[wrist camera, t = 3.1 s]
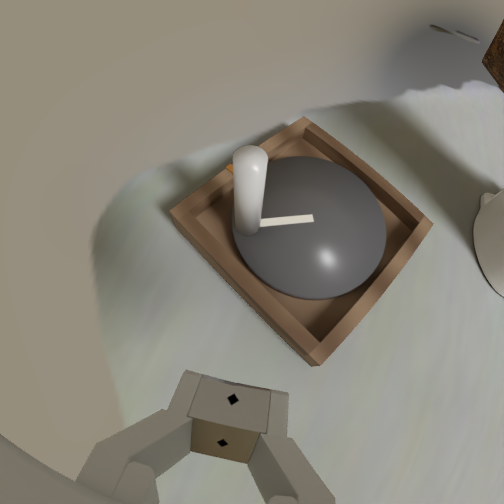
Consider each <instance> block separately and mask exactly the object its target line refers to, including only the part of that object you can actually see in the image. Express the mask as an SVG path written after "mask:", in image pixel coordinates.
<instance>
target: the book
mask: <svg viewBox="0 0 504 504" xmlns="http://www.w3.org/2000/svg"><path fill="white" fill-rule="evenodd" d="M482 63H483V65H484V66H485V67H486V69H487V70H488V71H489V73H490V74H491V75H492V77H493V78H494V79H495V81H496V82H497V84H498V85H499V86H500V88H501V89H502V91H503V92H504V20H503V22H502V24H501V26H500V28H499V30H498V32H497V34H496V35H495V37H494V39H493V41H492V43H491V45H490V47H489V48H488V50H487V52H486V54H485V56H484V58H483V60H482Z"/></svg>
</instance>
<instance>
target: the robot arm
mask: <svg viewBox="0 0 504 504" xmlns="http://www.w3.org/2000/svg"><path fill="white" fill-rule="evenodd" d="M473 236H474V245H475V250H476V254H477V257H478V260H479V263H480V266H481V268H482V270H483V272H484V274H485V276H486V278H487V279H488V281H489V283H490V284H491V285H492V287H493V288H494V289H495V290H496V291H497V292H498V293H499V294H500V295H501V296H503V297H504V189H502V190H501V191H500V192H499V193H497V194H496V195H495V194H491V193H485V194H483V195H482V196H481V208H480V211H479V213H478V215H477V217H476V219H475V223H474V229H473ZM288 407H289V394H288V392H282V391H277V390H270V389H266V388H261V387H255V386H250V385H245V384H240V383H234V382H230V381H226V380H222V379H218V378H215V377H211V376H207V375H204V374H199V373H196V372H192V371H189V370H185V372H184V373H183V375H182V377H181V379H180V382H179V384H178V386H177V389H176V391H175V393H174V396H173V398H172V400H171V403H170V405H169V407H168V409H167V410H164V409H161V410H160V411H158V412H156V413H154V414H152V415H151V416H149V417H147V418H145V419H143V420H141V421H139V422H138V423H136V424H134V425H132V426H130V427H128V428H126V429H124V430H122V431H121V432H119V433H117V434H115V435H113V436H111V437H109V438H107V439H105V440H103V441H101V442H99V443H97V444H96V445H95V446H94V449H93V450H92V452H91V454H90V456H89V457H88V459H87V461H86V463H85V465H84V466H83V468H82V470H81V472H80V474H79V476H78V477H77V479H76V481H74V480H71V479H70V478H68V477H66V476H64V475H62V474H61V473H59V472H57V471H55V470H53V469H52V468H50V467H48V466H47V465H45V464H43V463H42V462H40V461H39V460H37V459H35V458H34V457H32V456H31V455H29V454H28V453H26V452H25V451H23V450H22V449H20V448H19V447H17V446H16V445H15V444H13V443H12V442H10V441H9V440H8V439H6V438H5V437H4V436H2V435H1V434H0V504H159V497H158V491H157V486H156V480H155V479H156V478H157V477H159V476H160V475H161V474H163V473H164V472H165V471H167V470H168V469H169V468H171V467H172V466H173V465H175V464H176V463H177V462H179V461H180V460H181V459H182V458H184V457H185V456H186V455H188V454H189V453H190V451H192V452H196V453H200V454H205V455H209V456H214V457H219V458H223V459H227V460H231V461H236V462H240V463H245V464H248V465H247V466H248V468H249V470H250V472H251V474H252V476H253V478H254V480H255V483H256V485H257V487H258V489H259V491H260V493H261V495H262V497H263V499H264V501H265V503H266V504H335V497H334V496H333V495H332V493H331V492H330V491H329V489H328V488H327V487H326V485H325V484H324V483H323V481H322V480H321V478H320V477H319V476H318V474H317V473H316V472H315V470H314V469H313V467H312V466H311V465H310V463H309V462H308V460H307V459H306V457H305V456H304V455H303V453H302V452H301V450H300V449H299V447H298V446H297V445H296V443H295V442H294V440H293V439H292V438H288V437H287V427H288ZM219 455H220V456H219Z"/></svg>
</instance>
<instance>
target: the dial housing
mask: <svg viewBox="0 0 504 504" xmlns="http://www.w3.org/2000/svg"><path fill="white" fill-rule="evenodd" d="M258 147H260V148H262V149H263V150H264V151H265V152H266V154H267V156H268V163H269V162H272V161H275V160H278V159H281V158H286V157H293V156H309V157H317V158H321V159H325V160H328V161H331V162H334V163H336V164H338V165H340V166H342V167H344V168H346V169H347V170H349V171H351V172H352V173H353V174H355V175H356V176H357V177H358V178H360V179H361V180H362V181H363V182H364V183H365V184H366V185H367V187H368V188H369V189H370V190H371V192H372V193H373V194H374V196H375V197H376V199H377V201H378V203H379V205H380V207H381V210H382V212H383V216H384V220H385V225H386V244H385V249H384V252H383V256H382V258H381V260H380V262H379V265H378V266H377V268H376V269H375V271H374V272H373V273H372V274H371V275H370V276H369V278H368V279H367V280H365V281H364V282H363V283H362V284H361V285H359V286H358V287H357V288H355V289H354V290H352V291H350V292H349V293H347V294H344V295H342V296H339V297H336V298H332V299H328V300H317V301H314V300H302V299H297V298H293V297H290V296H287V295H284V294H281V293H279V292H277V291H275V290H273V289H272V288H270V287H268V286H267V285H265V284H264V283H263V282H261V281H260V280H259V279H258V278H257V277H256V276H255V275H254V274H253V273H252V272H251V271H250V270H249V269H248V267H247V266H246V265H245V263H244V262H243V260H242V258H241V257H240V255H239V253H238V251H237V248H236V245H235V242H234V237H233V232H232V210H233V205H234V181H233V164H229V165H228V166H227V167H226V169H224V170H223V171H222V172H220V173H219V174H218V175H216V176H215V177H213V178H212V179H211V180H209V181H208V182H207V183H205V184H204V185H203V186H201V187H200V188H199V189H197V190H196V191H195V192H193V193H192V194H191V195H189V196H188V197H187V198H185V199H184V200H183V201H181V202H180V203H179V204H177V205H176V206H175V207H174V208H172V209H171V210H170V211H169V212H170V214H171V217H172V219H173V221H174V224H175V226H176V228H177V229H178V230H179V231H180V232H181V233H182V234H183V235H184V236H185V238H186V239H187V240H188V241H189V242H190V243H191V244H192V245H193V246H194V247H195V248H196V249H197V250H198V252H199V253H200V254H201V255H202V256H203V257H204V258H205V259H206V260H207V261H208V262H209V263H210V264H211V265H212V266H213V267H214V269H215V270H216V271H217V272H218V273H219V274H220V275H221V276H222V277H223V278H224V279H225V280H226V281H227V282H228V283H229V284H230V285H231V286H232V287H233V288H234V289H235V290H236V292H237V293H238V294H239V295H240V296H241V297H242V298H243V299H244V300H245V301H246V302H247V303H248V304H249V305H250V306H251V307H252V308H253V309H254V310H255V311H256V312H257V313H258V314H259V315H260V316H261V317H262V318H263V319H264V320H265V321H266V322H267V323H268V324H269V325H270V326H271V327H272V328H273V329H274V330H275V331H276V332H277V333H278V334H279V335H280V336H281V337H282V338H283V339H284V340H285V341H286V342H287V343H288V344H289V345H290V346H291V347H292V348H293V349H294V350H295V351H296V352H297V353H298V354H299V355H300V356H301V357H302V358H303V359H304V360H305V361H306V362H307V363H308V364H309V365H310V366H311V367H313V366H320V365H321V364H322V363H323V362H324V361H325V360H326V359H327V358H328V357H329V356H330V355H331V354H332V353H333V352H334V351H335V349H336V348H337V347H338V346H339V345H340V344H341V343H342V342H343V341H344V339H345V338H346V337H347V336H348V335H349V334H350V333H351V332H352V330H353V329H354V328H355V327H356V326H357V325H358V323H359V322H360V321H361V320H362V319H363V318H364V316H365V315H366V314H367V313H368V312H369V310H370V309H371V308H372V307H373V305H374V304H375V303H376V302H377V301H378V299H379V298H380V297H381V296H382V294H383V293H384V292H385V291H386V289H387V288H388V287H389V285H390V284H391V283H392V282H393V280H394V279H395V278H396V276H397V275H398V274H399V272H400V271H401V270H402V268H403V267H404V266H405V264H406V263H407V262H408V260H409V259H410V257H411V256H412V255H413V253H414V252H415V250H416V249H417V248H418V246H419V245H420V243H421V242H422V240H423V239H424V237H425V236H426V235H427V233H428V232H429V230H430V229H431V227H432V226H433V223H432V222H431V221H430V220H429V219H428V218H427V217H426V216H425V215H424V214H423V213H422V212H421V211H420V210H419V209H418V208H417V207H415V206H414V205H413V204H412V203H411V202H410V201H409V200H408V199H407V198H406V197H405V196H404V195H403V194H401V193H400V192H399V191H398V190H397V189H396V188H395V187H394V186H392V185H391V184H390V183H389V182H388V181H387V180H386V179H384V178H383V177H382V176H381V175H380V174H379V173H377V172H376V171H375V170H374V169H373V168H371V167H370V166H369V165H368V164H367V163H365V162H364V161H363V160H362V159H360V158H359V157H358V156H357V155H355V154H354V153H353V152H352V151H350V150H349V149H348V148H347V147H345V146H344V145H343V144H341V143H340V142H339V141H337V140H336V139H335V138H333V137H332V136H331V135H329V134H328V133H327V132H325V131H324V130H323V129H321V128H320V127H318V126H317V125H316V124H314V123H313V122H311V121H310V120H309V119H307V118H306V117H304V116H303V117H302V118H300V119H299V120H297V121H296V122H294V123H292V124H291V125H289V126H288V127H286V128H285V129H283V130H282V131H280V132H278V133H277V134H275V135H274V136H272V137H271V138H269V139H268V140H266V141H265V142H263V143H262V144H260V145H259V146H258Z"/></svg>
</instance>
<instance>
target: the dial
mask: <svg viewBox="0 0 504 504" xmlns="http://www.w3.org/2000/svg"><path fill="white" fill-rule="evenodd" d="M233 181H234V205H233V210H232V232H233V237H234V242H235V245H236V248H237V251H238V253H239V255H240V257H241V258H242V260H243V262H244V263H245V265H246V266H247V267H248V269H249V270H250V271H251V272H252V273H253V274H254V275H255V276H256V277H257V278H258V279H259V280H260V281H261V282H263V283H264V284H265V285H267V286H268V287H270V288H272V289H273V290H275V291H277V292H279V293H281V294H284V295H287V296H290V297H293V298H297V299H302V300H314V301H317V300H328V299H332V298H336V297H339V296H342V295H344V294H347V293H349V292H350V291H352V290H354V289H355V288H357V287H358V286H359V285H361V284H362V283H363V282H364V281H365V280H367V279H368V278H369V276H370V275H371V274H372V273H373V272H374V271H375V269H376V268H377V266H378V265H379V262H380V260H381V258H382V256H383V252H384V249H385V244H386V225H385V220H384V216H383V212H382V210H381V207H380V205H379V203H378V201H377V199H376V197H375V196H374V194H373V193H372V192H371V190H370V189H369V188H368V187H367V185H366V184H365V183H364V182H363V181H362V180H361V179H360V178H358V177H357V176H356V175H355V174H353V173H352V172H351V171H349V170H347V169H346V168H344V167H342V166H340V165H338V164H336V163H334V162H331V161H328V160H325V159H321V158H317V157H309V156H293V157H286V158H281V159H278V160H275V161H272V162H269V163H268V156H267V154H266V152H265V151H264V150H263V149H262V148H260V147H258V146H254V145H246V146H242V147H240V148H238V149H237V150H236V151H235V152H234V154H233Z"/></svg>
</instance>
